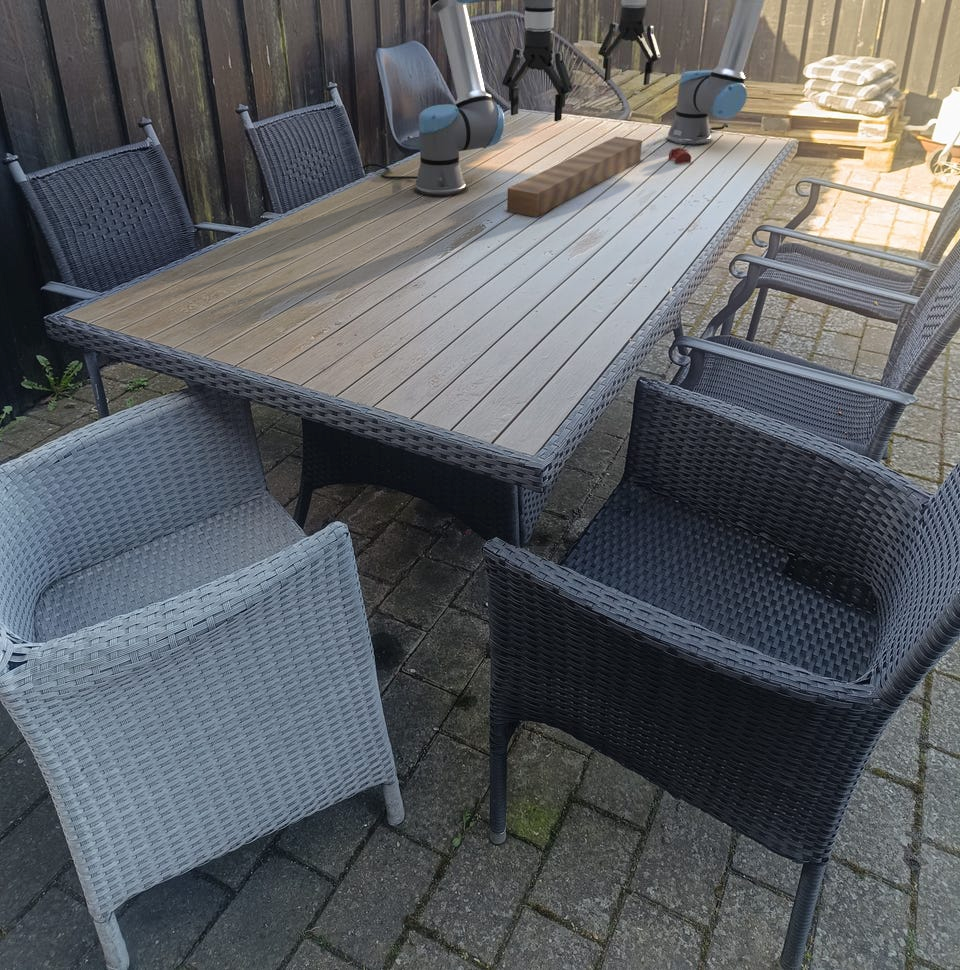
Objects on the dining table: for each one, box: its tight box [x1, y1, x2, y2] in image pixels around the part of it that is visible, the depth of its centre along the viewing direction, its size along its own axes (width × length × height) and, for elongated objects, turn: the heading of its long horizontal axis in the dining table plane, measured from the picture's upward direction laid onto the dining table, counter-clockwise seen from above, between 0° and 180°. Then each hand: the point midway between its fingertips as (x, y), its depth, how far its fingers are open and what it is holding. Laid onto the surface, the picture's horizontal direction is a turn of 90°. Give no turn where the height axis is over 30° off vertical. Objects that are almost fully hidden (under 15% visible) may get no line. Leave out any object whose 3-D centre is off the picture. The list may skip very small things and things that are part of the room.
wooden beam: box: [506, 136, 643, 218], centre depth 262 cm, size 71×10×6 cm, turn 147°
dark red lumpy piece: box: [668, 146, 692, 164], centre depth 284 cm, size 6×4×8 cm
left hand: (535, 117), depth 229 cm, fingers open, 13 cm apart
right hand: (626, 82), depth 269 cm, fingers open, 13 cm apart
